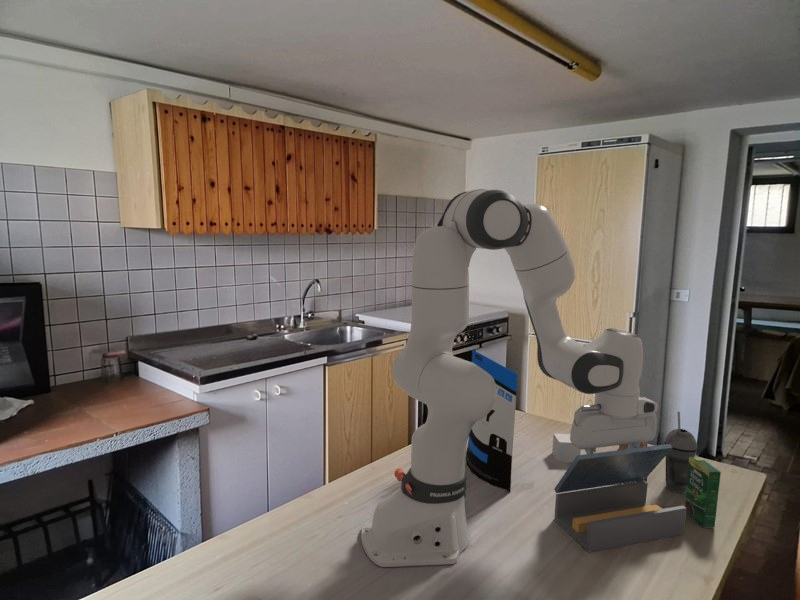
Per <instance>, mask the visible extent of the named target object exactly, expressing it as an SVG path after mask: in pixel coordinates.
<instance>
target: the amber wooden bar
mask: <svg viewBox="0 0 800 600" xmlns="http://www.w3.org/2000/svg"><path fill="white" fill-rule="evenodd" d="M649 505H650V506H644V507H638V508H632V509H626V510H620V511H614V512H608V513H602V514H596V515H591V516H585V517H579V518H573V523H572V527H573V528H574V529H575V530H576V531H577V532H584V531H587V528H588V522H590V521H596V520H602V519H607V518H613V517H619V516H625V515H631V514H636V513H642V512H648V511H654V510H660V509H663V507H661V506H659V505H658V504H652V505H651V504H649Z"/></svg>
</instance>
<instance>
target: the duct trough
mask: <svg viewBox="0 0 800 600" xmlns="http://www.w3.org/2000/svg"><path fill="white" fill-rule="evenodd" d="M648 485H649V484H648V481H647V482H646V481H640V482H636V481H635V482H628V483H621V484H615V485H608V486H601V487H595V488H588V489H581V490H575V491H568V492H561V493H555V504H554V515H553V516H554V517H553V519H554V521H556V523H557V524H559V526H560V527H562V528H563V529H564V530H565V531H566V532H567V533H568V534H569V535H570V536H571V537H572V538H573V539H574V540H575V541H577V543H579V545H580V546H582V548H583V549H585V550H586V551H587V552H588V553H593V552H598V551H602V550H607V549H613V548H619V547H623V546H628V545H633V544H638V543H644V542H649V541H655V540H660V539H664V538H670V537H675V536H681V535H684V533H685V524H686V517H687V511H686V510H687V508H686V507H685V505H677V506H672V507H667V508H662V509H660V510H654V511H648V512H642V513H636V514H631V515H625V516H619V517H613V518H607V519H602V520H596V521H590V522H588V528H587V531H584V532H577V531H576V530H575V529H574V528H573V527H572V523H573V518H579V517H585V516H591V515H596V514H602V513H608V512H614V511H620V510H626V509H632V508H638V507H644V506H650V505H651V504H648V503H647V494H648Z"/></svg>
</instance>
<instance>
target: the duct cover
mask: <svg viewBox="0 0 800 600" xmlns="http://www.w3.org/2000/svg"><path fill="white" fill-rule="evenodd" d="M672 448H673V447H672V446H671V445H670V444H657V445H650V446H648V445H647V447H640V448H633V449H625V450H610V451H604V452H603V451H602V452H593V454H587V453H585V454H580V455H577V456H576V458H575V459H574V461H573V462H572V463H570V464H569V467H568V468H567V470H566V471H565V472H564V474H563V476H561V478H560V479H559V481H558V483H557V484H556V486H555V487H554V489H553V490H554V492H555V494H560V493H567V492H573V491H580V490H587V489H593V488H600V487H607V486H613V485H620V484H627V483H633V482H636V481H641V480H645V479H646V478H647V479H648V477H649V476H650V475H651V473H652V472H653V471H654V470H655V469H656V468H657V466H658V465H659V464H660V463H661V462H662V461H663V460H664V459H665V458H666V455H667V454H668V453H669V451H670V450H671V449H672Z"/></svg>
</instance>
